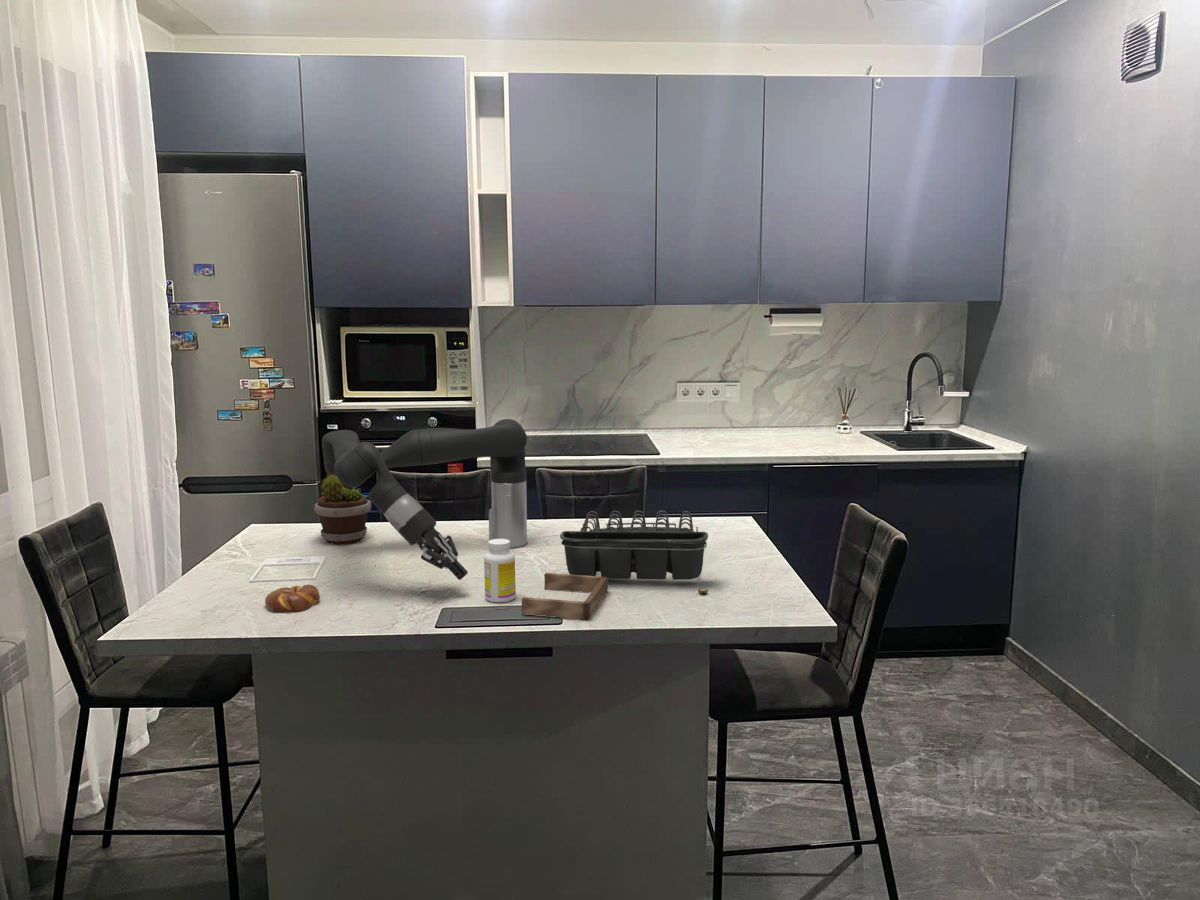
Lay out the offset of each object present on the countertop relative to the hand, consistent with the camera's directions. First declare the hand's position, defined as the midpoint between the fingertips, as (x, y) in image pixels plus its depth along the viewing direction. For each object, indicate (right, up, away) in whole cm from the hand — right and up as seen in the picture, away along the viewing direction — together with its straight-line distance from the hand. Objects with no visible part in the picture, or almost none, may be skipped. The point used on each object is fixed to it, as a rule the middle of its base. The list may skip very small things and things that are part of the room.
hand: (463, 576), depth 195 cm
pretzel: (-36, -6, -5) cm, 36 cm away
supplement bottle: (+8, -5, -1) cm, 9 cm away
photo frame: (-45, -2, +19) cm, 49 cm away
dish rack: (+39, 0, +28) cm, 48 cm away
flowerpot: (-39, +3, +46) cm, 61 cm away
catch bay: (+22, -5, -4) cm, 23 cm away
